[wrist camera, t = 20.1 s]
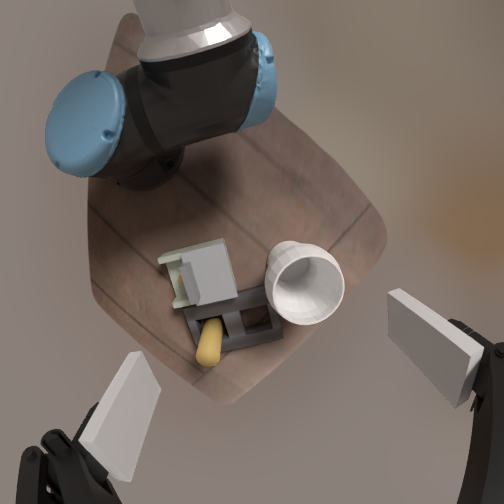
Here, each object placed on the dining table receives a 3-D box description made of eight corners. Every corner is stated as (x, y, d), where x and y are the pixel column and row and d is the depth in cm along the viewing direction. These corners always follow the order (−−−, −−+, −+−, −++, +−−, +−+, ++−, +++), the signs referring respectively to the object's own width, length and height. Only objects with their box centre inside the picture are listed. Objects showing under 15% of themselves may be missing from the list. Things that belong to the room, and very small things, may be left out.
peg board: (185, 302, 49) (182, 309, 46) (270, 283, 49) (272, 289, 46) (201, 347, 51) (200, 355, 48) (281, 330, 51) (283, 338, 48)
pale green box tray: (164, 252, 46) (157, 258, 42) (223, 237, 46) (222, 242, 42) (179, 299, 48) (174, 308, 44) (236, 286, 48) (236, 294, 44)
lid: (181, 252, 42) (175, 258, 38) (223, 241, 42) (222, 246, 38) (197, 304, 44) (193, 313, 40) (238, 295, 44) (237, 304, 40)
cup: (277, 300, 49) (292, 342, 35) (247, 252, 47) (251, 279, 33) (327, 271, 49) (360, 301, 34) (300, 221, 46) (327, 233, 32)
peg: (207, 332, 50) (200, 368, 38) (202, 315, 49) (192, 349, 38) (225, 328, 50) (222, 364, 38) (220, 311, 49) (215, 345, 38)
